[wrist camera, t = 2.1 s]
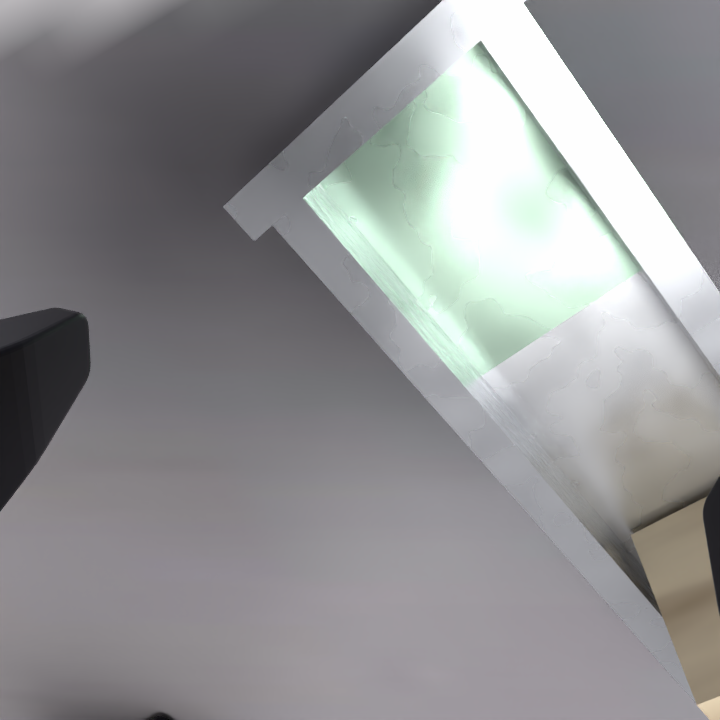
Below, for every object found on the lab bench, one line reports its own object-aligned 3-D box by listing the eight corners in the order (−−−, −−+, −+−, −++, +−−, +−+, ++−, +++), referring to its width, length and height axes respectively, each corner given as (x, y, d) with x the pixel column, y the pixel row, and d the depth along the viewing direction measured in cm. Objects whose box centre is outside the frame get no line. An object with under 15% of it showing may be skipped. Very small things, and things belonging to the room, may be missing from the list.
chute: (910, 575, 24) (991, 666, 21) (685, 667, 28) (722, 760, 24) (493, -37, 18) (507, -60, 14) (260, 179, 21) (223, 206, 17)
